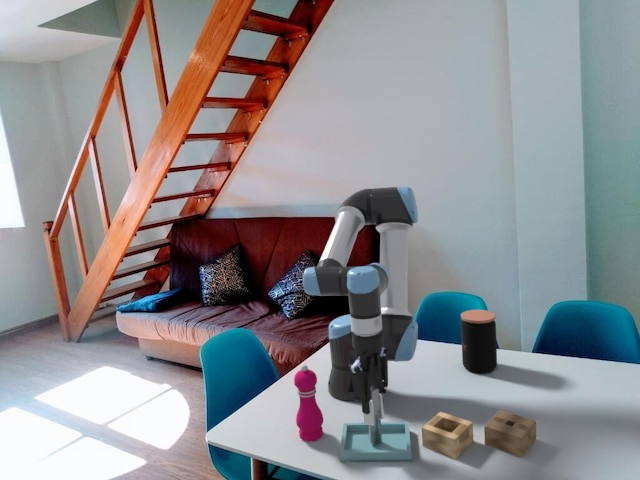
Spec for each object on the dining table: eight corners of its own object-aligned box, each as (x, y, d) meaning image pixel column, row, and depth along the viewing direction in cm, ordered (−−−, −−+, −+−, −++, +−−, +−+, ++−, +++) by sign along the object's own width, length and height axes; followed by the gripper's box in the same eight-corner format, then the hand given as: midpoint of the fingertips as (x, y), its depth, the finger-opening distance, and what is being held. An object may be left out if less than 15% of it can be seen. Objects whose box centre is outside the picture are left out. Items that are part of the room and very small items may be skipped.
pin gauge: (366, 441, 124) (362, 389, 122) (374, 435, 126) (370, 384, 124) (376, 445, 122) (373, 393, 119) (384, 439, 124) (381, 388, 122)
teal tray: (340, 462, 119) (339, 452, 119) (344, 431, 132) (343, 423, 132) (411, 461, 117) (411, 452, 117) (408, 430, 130) (408, 421, 129)
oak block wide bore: (422, 445, 123) (421, 427, 122) (440, 429, 129) (440, 411, 128) (455, 458, 116) (455, 439, 116) (473, 440, 123) (472, 422, 122)
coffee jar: (469, 358, 169) (467, 308, 166) (501, 363, 163) (499, 311, 159) (458, 371, 160) (455, 318, 157) (491, 377, 154) (489, 322, 151)
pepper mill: (315, 445, 127) (307, 373, 123) (292, 439, 131) (284, 368, 127) (329, 431, 133) (323, 361, 129) (307, 425, 137) (300, 357, 133)
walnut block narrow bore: (484, 444, 121) (484, 426, 120) (500, 427, 127) (499, 409, 126) (522, 457, 115) (521, 438, 114) (536, 439, 121) (535, 420, 120)
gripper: (358, 345, 111) (366, 440, 115) (399, 323, 122) (404, 410, 126) (333, 339, 116) (341, 430, 120) (374, 318, 127) (381, 402, 132)
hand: (374, 420), depth 123 cm, fingers closed on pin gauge, 3 cm apart
